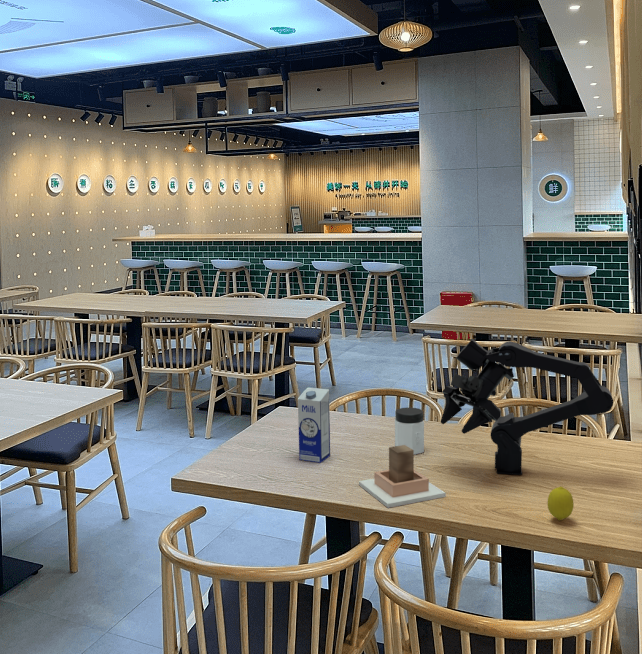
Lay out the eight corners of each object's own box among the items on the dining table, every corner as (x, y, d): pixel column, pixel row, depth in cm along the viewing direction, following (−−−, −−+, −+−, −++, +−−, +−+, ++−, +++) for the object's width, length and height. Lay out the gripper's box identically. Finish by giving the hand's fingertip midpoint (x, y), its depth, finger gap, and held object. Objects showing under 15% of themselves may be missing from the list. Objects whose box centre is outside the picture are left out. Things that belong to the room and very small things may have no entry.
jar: (406, 457, 202) (406, 416, 200) (388, 449, 209) (388, 410, 207) (430, 451, 207) (430, 411, 205) (411, 444, 214) (411, 405, 212)
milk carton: (330, 455, 205) (329, 388, 202) (321, 463, 199) (319, 394, 196) (308, 452, 208) (307, 386, 204) (298, 460, 202) (297, 391, 198)
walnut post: (404, 482, 181) (404, 444, 179) (413, 488, 177) (413, 450, 175) (389, 485, 179) (388, 447, 177) (397, 491, 175) (397, 452, 173)
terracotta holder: (413, 475, 188) (413, 460, 188) (445, 496, 174) (445, 481, 173) (358, 484, 182) (358, 470, 182) (387, 507, 168) (387, 491, 167)
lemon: (567, 514, 162) (568, 481, 161) (576, 525, 157) (578, 490, 155) (543, 515, 162) (544, 482, 161) (552, 526, 156) (553, 491, 155)
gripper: (448, 356, 192) (413, 401, 189) (492, 369, 175) (455, 418, 173) (471, 381, 197) (438, 425, 194) (516, 396, 180) (481, 444, 177)
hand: (451, 427), depth 184 cm, fingers open, 9 cm apart
